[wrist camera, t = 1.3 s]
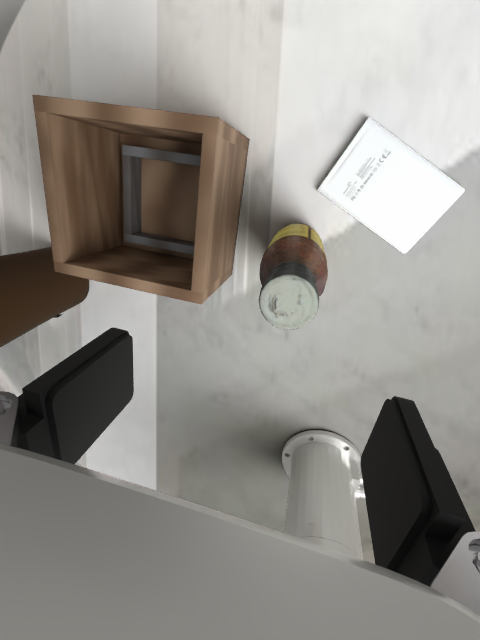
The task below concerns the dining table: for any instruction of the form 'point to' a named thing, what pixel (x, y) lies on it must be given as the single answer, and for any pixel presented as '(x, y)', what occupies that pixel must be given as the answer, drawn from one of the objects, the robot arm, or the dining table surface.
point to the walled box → (141, 195)
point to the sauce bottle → (292, 277)
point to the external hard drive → (389, 187)
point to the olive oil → (34, 292)
